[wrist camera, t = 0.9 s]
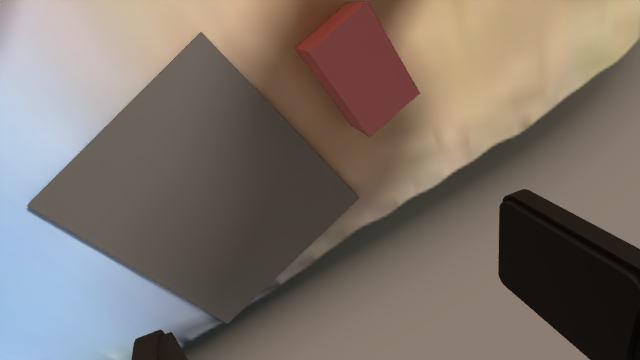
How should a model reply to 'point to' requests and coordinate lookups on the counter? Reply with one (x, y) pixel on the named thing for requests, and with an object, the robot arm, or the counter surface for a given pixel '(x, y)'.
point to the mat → (199, 186)
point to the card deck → (359, 67)
